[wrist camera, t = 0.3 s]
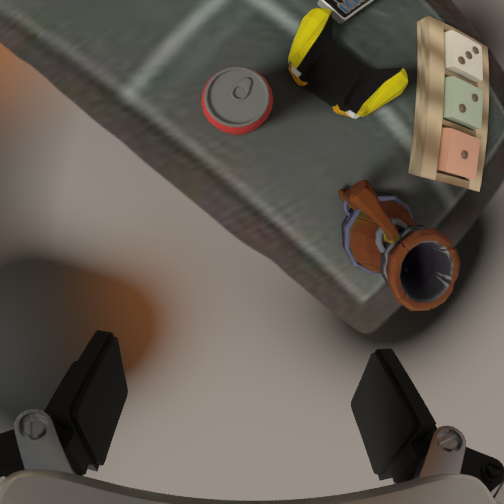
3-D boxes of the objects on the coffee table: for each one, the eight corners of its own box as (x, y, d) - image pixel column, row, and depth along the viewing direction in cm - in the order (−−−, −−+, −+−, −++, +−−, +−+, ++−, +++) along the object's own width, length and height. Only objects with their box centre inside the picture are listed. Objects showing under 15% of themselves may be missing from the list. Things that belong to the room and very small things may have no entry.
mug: (288, 201, 39) (314, 238, 25) (348, 138, 36) (405, 142, 22) (371, 283, 44) (416, 341, 30) (423, 229, 41) (484, 269, 27)
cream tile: (442, 33, 28) (452, 29, 25) (471, 48, 28) (482, 45, 26) (443, 68, 30) (454, 65, 27) (472, 82, 30) (483, 81, 28)
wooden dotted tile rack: (416, 21, 29) (428, 15, 26) (474, 49, 30) (487, 47, 27) (408, 173, 38) (420, 176, 35) (466, 187, 39) (479, 191, 35)
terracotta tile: (440, 127, 33) (451, 127, 31) (469, 138, 33) (481, 139, 31) (435, 169, 35) (446, 171, 33) (464, 177, 36) (476, 180, 33)
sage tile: (443, 77, 30) (454, 75, 28) (472, 91, 31) (483, 90, 28) (441, 117, 33) (452, 117, 30) (470, 128, 33) (482, 129, 30)
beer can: (275, 101, 34) (290, 85, 23) (246, 144, 36) (249, 147, 25) (229, 75, 33) (224, 48, 22) (201, 118, 35) (183, 110, 24)
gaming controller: (309, 14, 30) (266, 65, 33) (319, -2, 25) (270, 54, 28) (397, 83, 33) (360, 135, 36) (417, 77, 28) (377, 135, 31)
